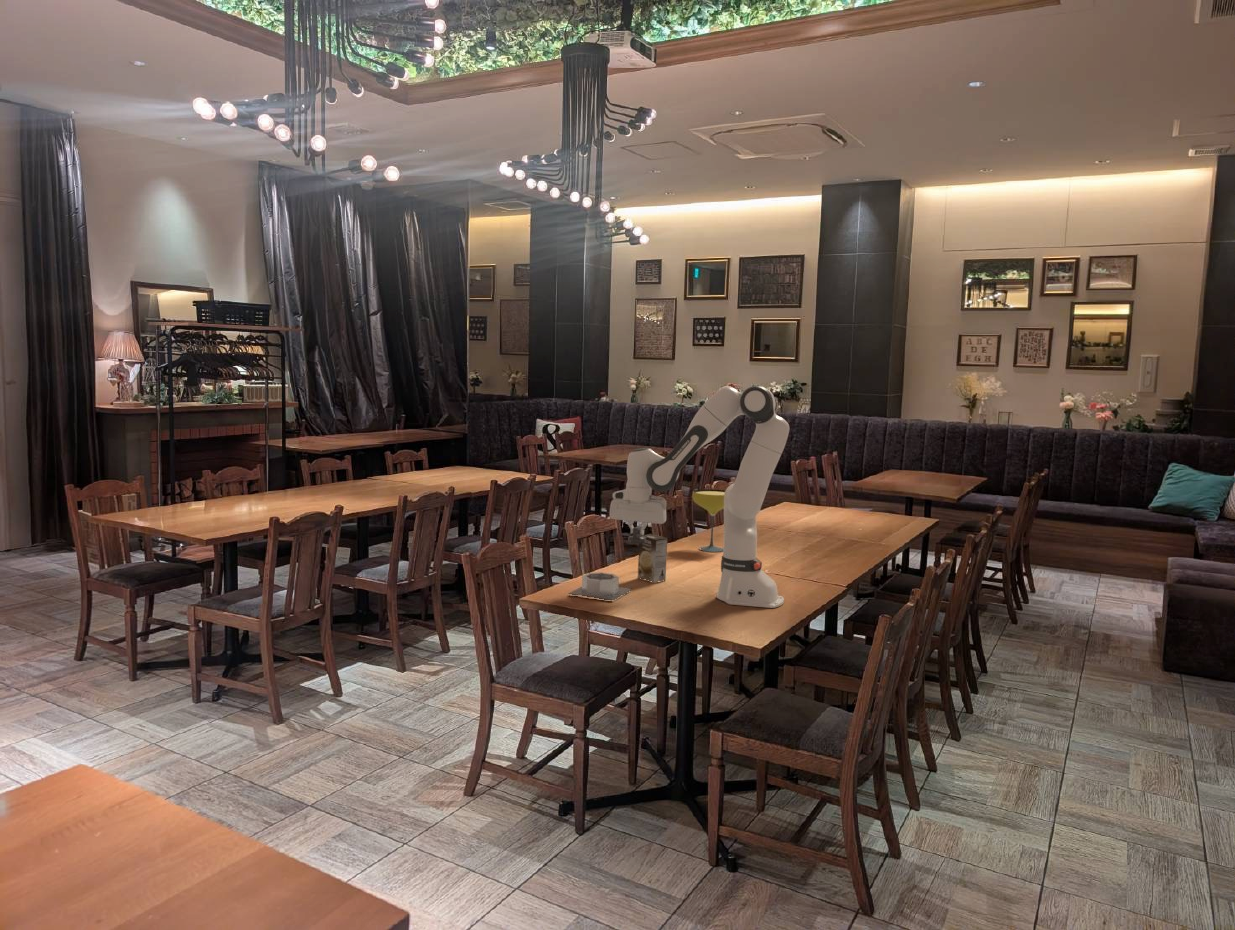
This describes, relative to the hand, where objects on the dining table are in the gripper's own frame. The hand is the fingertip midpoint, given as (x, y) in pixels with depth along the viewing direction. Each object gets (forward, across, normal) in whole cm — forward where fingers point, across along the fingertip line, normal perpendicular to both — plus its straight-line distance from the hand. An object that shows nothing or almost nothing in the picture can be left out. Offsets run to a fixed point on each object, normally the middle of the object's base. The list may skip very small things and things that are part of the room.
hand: (637, 534), depth 304 cm
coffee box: (+19, 0, -15) cm, 24 cm away
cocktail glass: (+19, -3, -79) cm, 81 cm away
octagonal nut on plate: (+19, +7, +13) cm, 25 cm away
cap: (+3, 0, 0) cm, 3 cm away
